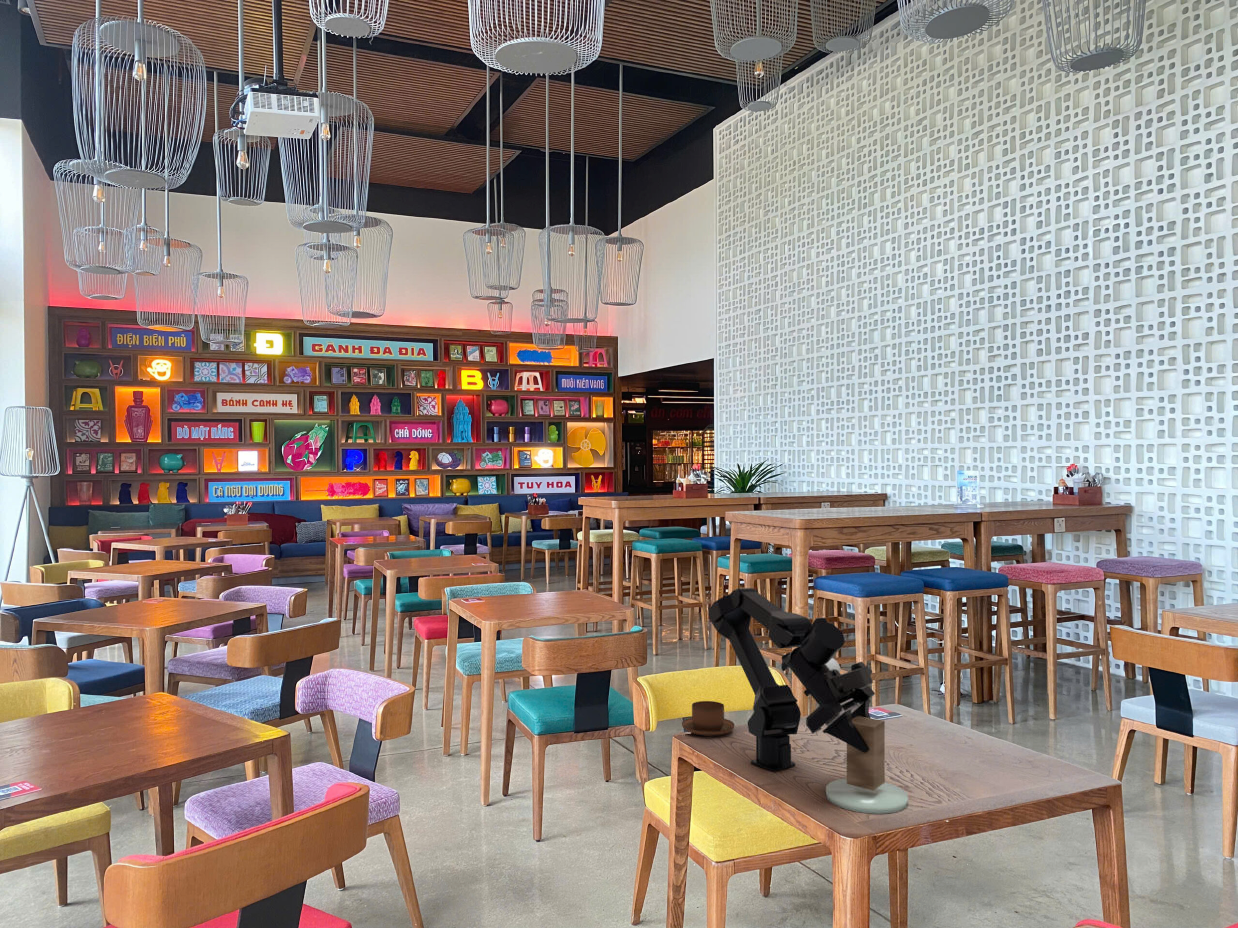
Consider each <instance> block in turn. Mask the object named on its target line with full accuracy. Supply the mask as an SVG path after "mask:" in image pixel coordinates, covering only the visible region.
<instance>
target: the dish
mask: <svg viewBox="0 0 1238 928" xmlns="http://www.w3.org/2000/svg"><path fill="white" fill-rule="evenodd" d="M825 796H826V799H827V800H828V802H830V803H831V804H833V805H835V806H837V807H839V808H842V809H845V810H847V811H852V812H857V813H862V814H863V813H864V814H872V815H874V814H875V815H877V814H878V815H885V814H894V813H898V812H901V811H904V810H905V809H906V808H907V807H908V804H909V796H908V793H907V792H906V791H905V790H904V789H903V788H901V787H899V786H897V785H895V784H892V783H890V782H886V781H885V783H883V784H882V785H881V786H879V787H878V788H877V789H875V790H869V789H865V788H861V787H857V786H853V785H849V784H847V778H841V779H835V780H832V781H831V782H829V783H828V784H827V785H826V787H825Z"/></svg>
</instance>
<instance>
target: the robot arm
mask: <svg viewBox="0 0 1238 928" xmlns="http://www.w3.org/2000/svg"><path fill="white" fill-rule="evenodd" d="M752 618H753V620H754V621H756V622H757V623H759V624H760V625H761V626H763V627H764V628H765V629H766V631H768V634H767V636H768V638H769V639H770V640H771V642H772V643H773V644H774V645H775V646H776V647H777V648H779V649H789V648H793V649H792V650H791V652H787V653H786V654H784V655H782V656H781V665H780V666H781V671H783V672H784V671H786V670H789V669H790V670H791V672H792V673H793V674H794V676H795V677H796V678H797V679H798V681H800V683H801V684H802V685H803V687H804V689H805V690H804V691H803V694H804V695H805V697H809V696H811V697H812V698H813V700H814V701H815V702H816V703H817V705H818V707H816V709H814V710H813V711H812V712H810V713H809V715H808V716H806V719H805V725H806V727H807V728H808V730H809V731H810V732H811V733H812V734H813V735H814V734H816V733H818V732H820V731H821V730H822V727H823V726H824V725H826V727H825V728H824V729H823V730H822V733H824V734H828V735H830V736H832V737H834V738H836V739H838V740H840V741H842V742H843V743H846V745H847V744H849V745H851V746H853V747H855V748H856V749H858V750H860V751H862V752H864V753H866V752H867V751H868V750H869V748H868V746H867V744H866V742H865V741H864V739H863V738H862V736H861V735H860V733H859V732H858V730H857V729H856V727H855V726H854V724H853V723H852V719H853V718H855V717H857V716H861V717H866V718H871V714H870V711H869V709H870V704H871V698H873V697H875V695H876V692H874V690H873V689H872V688H871V686H870V684H873V683H874V681H873V678H872V674H873V670H872V669H871V668H869V666H868V665H866V664H865V663H864V662H863V661H860V662H856V663H853V664H852V665H851V666H850V668H851V669H850V670H849V671H847V672H844V673H841V672H840V673H839V671H838V670H835V669H833V670H830V669H829V668H828V667H827V665H826V663H828V662H829V661H830V660H831V659H832V658H833V657H834V656H835V655H836V654H837V653H838V651H840V649H842V648H843V646H844V645H845V636H844V634H843V631H842V630H840V629H839V628H838V627H837V626H836V625H835V624H833V623H830V622H828V619H827V618H826V617H816V618H815V620H813V622H811V621H810V619H809V618H808V617H806V616H803V615H802V614H799V613H794V612H789V611H788V612H787V611H784V610H783V609H782V608H780V607H779V606H778V605H776V604H775V603H773V602H772V601H770V600H769V599H767V597H765V596H764V595H762V594H760V593H759V591H758V589H756V588H753V587H743V588H736V589H734V590H732V591H731V592H730V593H729V594H727V595H725V596H722V597H720V598H718V599H717V600H715V601H714V602H713V603H712V604H711V605H710V607H709V608H708V619H709V621H710V622H711V624H712V626H713V628H715V631H716V632H717V633H718V634H719V635H721V636H723V637H724V638H725V639H727V640H728V641H729V643H730V644H731V645H730V646H732V649H733V651H734V653H735V655H736V658H737V660H738V662H739V664H740V666H741V668H742V670H743V673H744V674H745V677H746V678H747V681H748V683H749V685H750V687H751V689H752V691H753V693H754V700H753V706H752V709H753V713H752V715H751V716H750V717H749V719H748V721H747V728H748V733H749V734H751V735H753V736H755V745H756V746H755V749H756V751H755V752H756V753H755V754H756V755H755V757H756V758H755V759H750V764H752V765H755V766H758V767H760V768H763V769H765V770H768V771H771V772H777V771H780V770H784V769H787V768H791V767H794V766H796V762H795V761H792V744H791V743H790V742H791V741H790V740H791V739H790V738H791V736H790V735H798V730H799V726H800V721H801V718H802V717H801V716H802V713H801V708H800V707H799V705H798V699H797V698H796V697H795V696H794V693H793V691H792V689H791V687H790V686H789V685H788V684H781V685H780V684H778V683H777V682H776V679H775V677H774V676H773V674H772V671H771V669H770V668H769V666H768V664H767V662H766V659H765V658H764V656H763V654H762V652H761V650H760V648H759V645H758V643H757V642H756V640H755V638H754V636H753V634H752V632H751V630H750V626H751V620H752Z"/></svg>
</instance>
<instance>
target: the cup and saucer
mask: <svg viewBox="0 0 1238 928" xmlns="http://www.w3.org/2000/svg"><path fill="white" fill-rule="evenodd" d="M681 727H682V728H683V729H684V730H685V731H687V732H689V733H691V734H694V735H698V736H704V737H705V736H707V737H709V736H710V737H715V736H722V735H725V734H728V733H730V732H731V731H733V730H734V728H735V723H734V722H733V721H731V720H729V719H727V718H725V705H724V704H723V703H722V702H718V701H713V700H701V701H696V702H693V703H692V704H691V717H689V718H686V719H684V720H683V721H681Z"/></svg>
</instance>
